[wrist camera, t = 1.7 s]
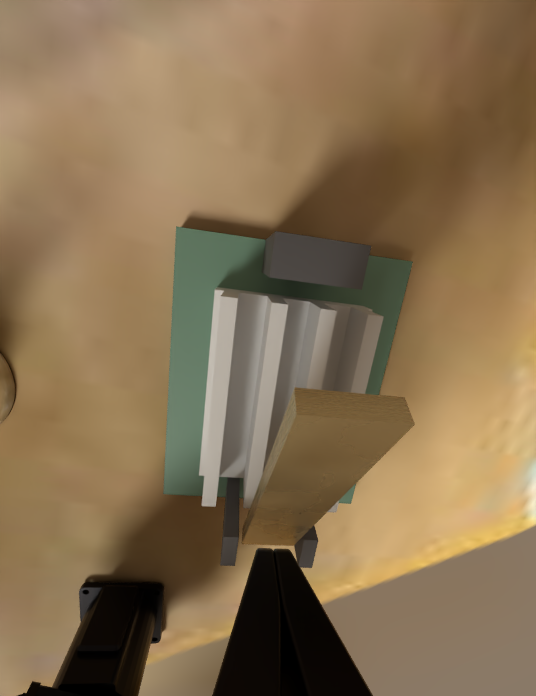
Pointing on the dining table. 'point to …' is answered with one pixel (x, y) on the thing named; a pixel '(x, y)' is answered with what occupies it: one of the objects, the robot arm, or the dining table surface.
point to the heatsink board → (266, 353)
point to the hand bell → (6, 389)
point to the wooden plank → (320, 459)
